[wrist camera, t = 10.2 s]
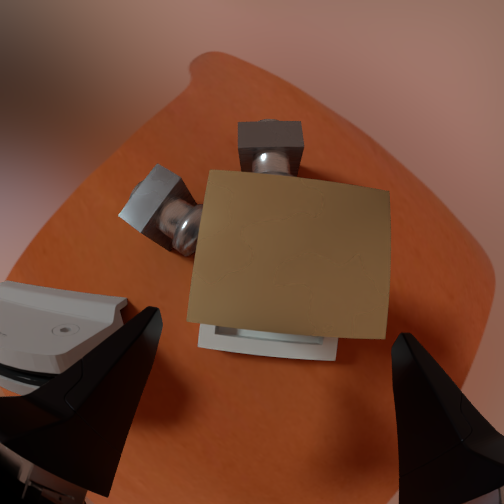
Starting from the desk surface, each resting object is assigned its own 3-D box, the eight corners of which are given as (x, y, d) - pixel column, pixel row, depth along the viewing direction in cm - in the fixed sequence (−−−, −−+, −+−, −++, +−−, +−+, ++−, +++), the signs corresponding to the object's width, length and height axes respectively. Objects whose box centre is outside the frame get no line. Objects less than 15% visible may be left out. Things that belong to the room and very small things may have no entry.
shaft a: (297, 214, 21) (308, 183, 16) (243, 215, 21) (238, 184, 16) (292, 156, 22) (300, 115, 17) (243, 158, 22) (237, 116, 17)
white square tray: (338, 235, 21) (346, 227, 19) (328, 355, 19) (335, 360, 17) (219, 222, 21) (215, 213, 19) (204, 343, 20) (197, 346, 18)
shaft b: (226, 225, 21) (214, 197, 16) (195, 269, 21) (172, 256, 15) (175, 193, 22) (151, 160, 16) (146, 234, 21) (113, 211, 16)
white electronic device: (131, 298, 20) (52, 355, 11) (137, 352, 21) (76, 425, 11) (5, 280, 21) (-63, 305, 11) (12, 321, 22) (-49, 355, 12)
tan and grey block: (312, 263, 20) (389, 191, 7) (306, 320, 19) (385, 339, 6) (241, 256, 20) (210, 169, 7) (234, 313, 19) (186, 321, 7)
